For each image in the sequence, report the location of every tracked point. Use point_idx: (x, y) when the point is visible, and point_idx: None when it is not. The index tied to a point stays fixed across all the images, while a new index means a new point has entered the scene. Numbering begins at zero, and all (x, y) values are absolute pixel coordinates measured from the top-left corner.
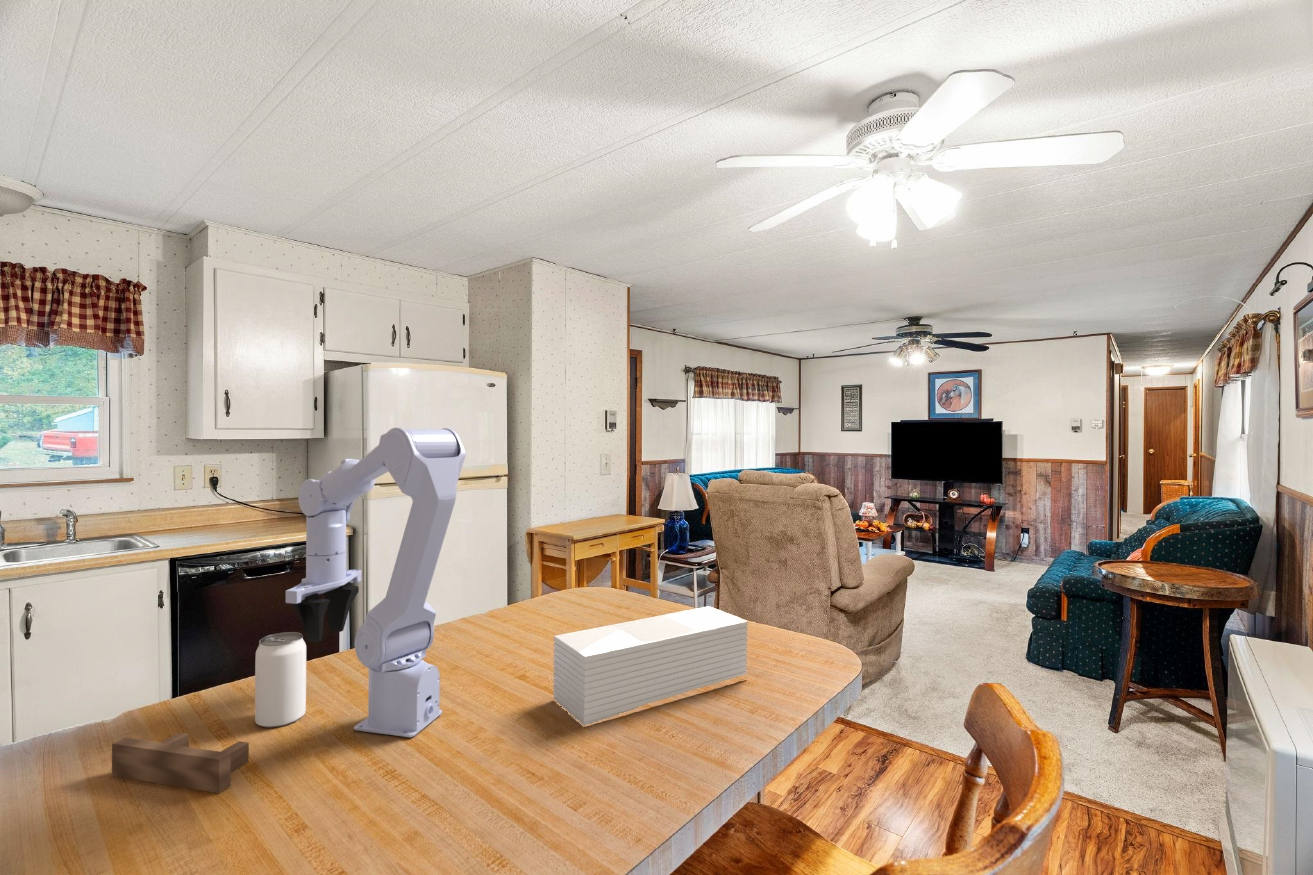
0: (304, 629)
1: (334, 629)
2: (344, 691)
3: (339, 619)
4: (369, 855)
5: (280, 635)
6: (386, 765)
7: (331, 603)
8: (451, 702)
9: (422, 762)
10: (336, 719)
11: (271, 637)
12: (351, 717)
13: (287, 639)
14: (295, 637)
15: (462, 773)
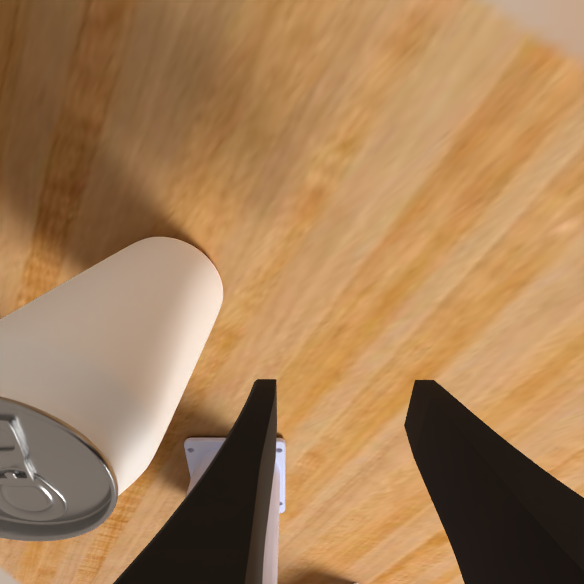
0: (236, 423)
1: (413, 407)
2: (336, 322)
3: (434, 477)
4: (4, 560)
5: (60, 412)
6: (129, 510)
7: (520, 557)
8: (326, 500)
9: (155, 534)
10: (212, 388)
11: (5, 392)
12: (228, 405)
13: (42, 478)
14: (85, 489)
15: None
